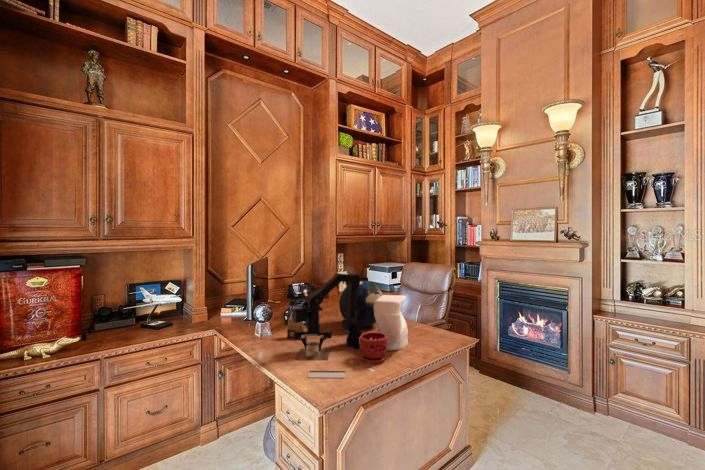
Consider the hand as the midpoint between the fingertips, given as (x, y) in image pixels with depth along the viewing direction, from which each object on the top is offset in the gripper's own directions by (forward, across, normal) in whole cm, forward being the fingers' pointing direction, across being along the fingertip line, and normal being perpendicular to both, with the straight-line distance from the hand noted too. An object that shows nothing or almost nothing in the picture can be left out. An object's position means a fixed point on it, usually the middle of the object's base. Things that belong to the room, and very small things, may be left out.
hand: (313, 350), depth 165 cm
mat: (+2, -9, +18) cm, 20 cm away
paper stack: (+3, -39, -15) cm, 42 cm away
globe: (+3, -25, -52) cm, 58 cm away
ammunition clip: (+3, +14, -27) cm, 31 cm away
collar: (+2, 0, 0) cm, 2 cm away
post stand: (+2, 0, 0) cm, 2 cm away
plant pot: (+3, -30, +5) cm, 31 cm away
